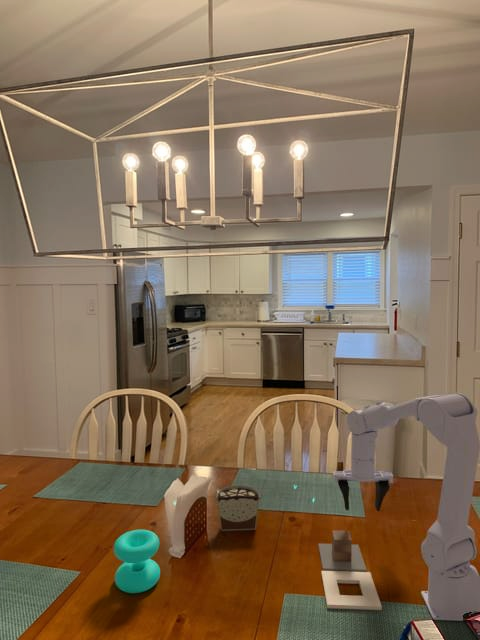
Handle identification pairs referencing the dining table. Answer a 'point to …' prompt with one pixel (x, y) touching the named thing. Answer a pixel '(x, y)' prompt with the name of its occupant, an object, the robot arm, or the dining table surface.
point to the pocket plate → (349, 601)
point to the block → (341, 546)
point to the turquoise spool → (137, 561)
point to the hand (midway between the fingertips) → (362, 508)
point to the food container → (238, 507)
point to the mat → (329, 563)
